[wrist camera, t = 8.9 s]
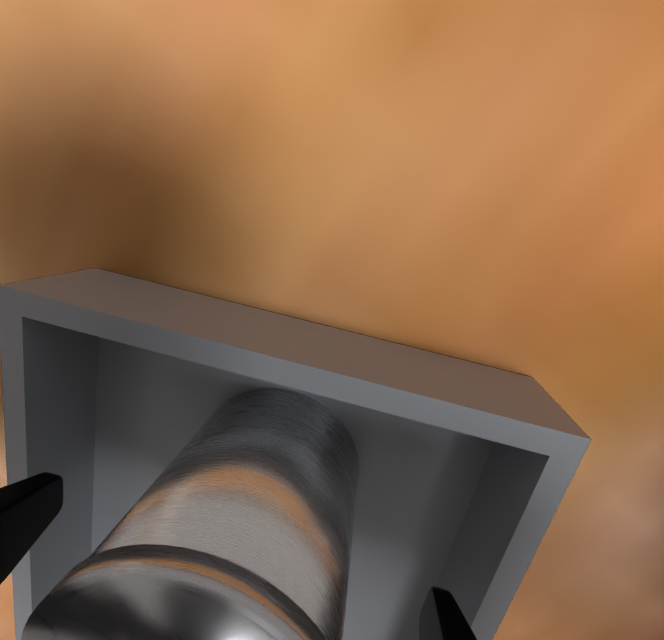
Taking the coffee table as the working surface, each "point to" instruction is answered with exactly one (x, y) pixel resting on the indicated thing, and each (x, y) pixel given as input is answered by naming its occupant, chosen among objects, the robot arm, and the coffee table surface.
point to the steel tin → (226, 537)
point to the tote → (302, 377)
